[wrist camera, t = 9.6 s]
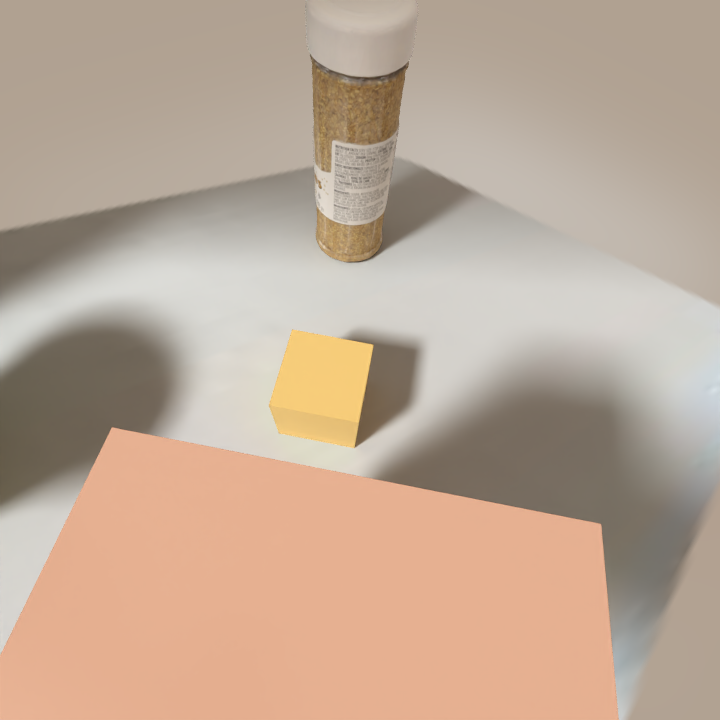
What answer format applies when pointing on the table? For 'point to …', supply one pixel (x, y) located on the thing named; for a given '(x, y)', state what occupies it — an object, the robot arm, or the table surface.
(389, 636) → the tall peach pillar
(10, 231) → the table surface
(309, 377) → the ochre block
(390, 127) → the spice jar
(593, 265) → the table surface
